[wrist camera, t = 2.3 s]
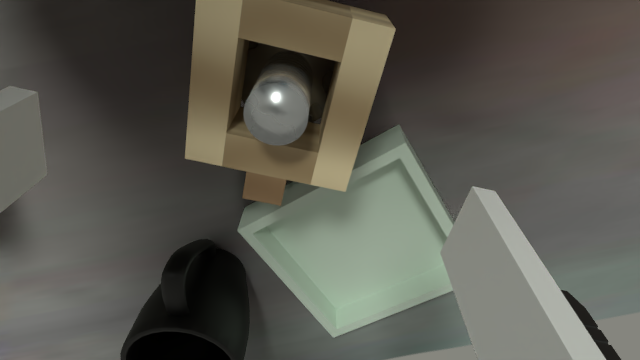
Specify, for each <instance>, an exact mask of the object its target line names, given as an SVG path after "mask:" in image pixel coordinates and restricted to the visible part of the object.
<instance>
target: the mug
mask: <svg viewBox="0 0 640 360" xmlns="http://www.w3.org/2000/svg"><path fill="white" fill-rule="evenodd" d="M248 335H249V299H248V291H247V284H246V273H245V269H244V266H243V264H242V263H241V262H240V260H239V259H238V258H237V257H235V256H234V255H233V254H231V253H229V252H227V251H225V250H222V249H218V248H216V245H215V243H214V242H213V241H211V240H207V239H201V240H197V241H194V242H192V243H189V244H187V245H185V246H183V247H181V248H180V249H178V250H177V251H176V252H174V253H173V255H172V256H171V257H170V259H169V260H168V262H167V264H166V266H165V268H164V270H163V273H162V278H161V284H160V285H159V286H158V287H157V289H156V290H155V291H154V293H153V294H152V295H151V296H150V298H149V299H148V301H147V302H146V303H145V305H144V306H143V308H142V309H141V311H140V313H139V315H138V317H137V319H136V321H135V323H134V325H133V327H132V329H131V330H130V332H129V334H128V336H127V338H126V340H125V342H124V344H123V347H122V350H121V360H244V356H245V351H246V346H247V340H248Z"/></svg>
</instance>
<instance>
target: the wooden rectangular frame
mask: <svg viewBox="0 0 640 360" xmlns="http://www.w3.org/2000/svg"><path fill="white" fill-rule="evenodd" d="M395 30H396V29H395V27H394V26H393V24H392V23H391V21H390V20H389V19H388V17H387V16H386V15H384V14H380V13H376V12H372V11H368V10H364V9H360V8H356V7H352V6H348V5H344V4H340V3H336V2H332V1H328V0H196V7H195V21H194V35H193V49H192V64H191V78H190V92H189V106H188V121H187V135H186V149H185V159H189V160H194V161H199V162H204V163H208V164H213V165H218V166H223V167H228V168H232V169H237V170H242V171H246V178H245V184H244V190H243V196H242V198H244V199H249V200H254V201H259V202H264V203H269V204H274V205H279V206H281V203H282V199H283V194H284V189H285V185H286V180H290V181H295V182H300V183H305V184H309V185H314V186H319V187H324V188H329V189H333V190H338V191H343V192H346V189H347V185H348V182H349V179H350V176H351V173H352V169H353V166H354V163H355V160H356V156H357V153H358V150H359V147H360V143H361V140H362V137H363V134H364V130H365V127H366V124H367V121H368V118H369V114H370V111H371V108H372V105H373V101H374V98H375V95H376V92H377V88H378V85H379V82H380V79H381V75H382V72H383V69H384V66H385V62H386V59H387V56H388V53H389V50H390V46H391V43H392V40H393V37H394V33H395ZM249 40H250V41H254V42H258V43H262V44H267V45H271V46H275V47H279V48H283V49H288V50H292V51H296V52H300V53H304V54H309V55H313V56H317V57H321V58H325V59H330V60H334V61H336V62H335V66H334V70H333V74H332V78H331V82H330V86H329V90H328V94H327V98H326V102H325V107H324V111H323V115H322V119H321V123H320V124H316V123H312V122H308V123H307V127H306V129H305V131H304V132H303V134H302V135H301V136H300V137H299V138H298V139H297V140H295V141H294V142H292V143H290V144H287V145H280V146H275V145H269V144H266V143H263V142H261V141H260V140H258V139H257V138H255V137H254V136H253V135H252V134H251V133H250V131H249V130H248V128H247V126H246V124H245V121H244V114H243V112H244V107H240V106H241V98H242V91H243V84H244V77H245V69H246V62H247V55H248V48H249Z"/></svg>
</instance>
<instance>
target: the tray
mask: <svg viewBox="0 0 640 360" xmlns="http://www.w3.org/2000/svg"><path fill="white" fill-rule="evenodd" d="M454 223H455V222H454V220H453V218H452V217H451V215H450V213H449V211H448V210H447V208H446V206H445V204H444V203H443V201H442V199H441V197H440V196H439V194H438V192H437V190H436V189H435V187H434V185H433V183H432V181H431V180H430V178H429V176H428V174H427V173H426V171H425V169H424V167H423V166H422V164H421V162H420V160H419V159H418V157H417V155H416V153H415V152H414V150H413V148H412V146H411V145H410V143H409V141H408V139H407V137H406V136H405V134H404V132H403V130H402V129H401V127H400V125H399V124H398V125H397V126H395V127H393V128H391V129H389V130H387V131H385V132H384V133H382V134H380V135H378V136H376V137H374V138H372V139H371V140H369V141H367V142H365V143H363V144H361V145H360V147H359V150H358V153H357V156H356V160H355V163H354V166H353V169H352V173H351V176H350V179H349V182H348V185H347V189H346V192H343V191H338V190H333V189H329V188H324V187H319V186H314V185H309V184H305V183H300V182H295V181H293V182H291V183H289V184H287V185H285V189H284V194H283V199H282V203H281V206H279V205H274V204H269V203H264V202H259V201H256V202H254V203H252V204H250V205H248V206H246V207H245V208H244V211H243V214H242V217H241V220H240V223H239V227H238V230H237V231H238V232H239V233H240V234H241V235H242V237H243V238H244V239H245V240H246V241H247V242H248V243H249V244H250V245H251V247H252V248H253V249H254V250H255V251H256V252H257V253H258V254H259V255H260V257H261V258H262V259H263V260H264V261H265V262H266V263H267V264H268V265H269V267H270V268H271V269H272V270H273V271H274V272H275V273H276V274H277V276H278V277H279V278H280V279H281V280H282V281H283V282H284V283H285V284H286V286H287V287H288V288H289V289H290V290H291V291H292V292H293V293H294V294H295V296H296V297H297V298H298V299H299V300H300V301H301V302H302V303H303V305H304V306H305V307H306V308H307V309H308V310H309V311H310V312H311V313H312V315H313V316H314V317H315V318H316V319H317V320H318V321H319V322H320V323H321V325H322V326H323V327H324V328H325V329H326V330H327V331H328V332H329V334H330V335H331V336H332V337H333V338H334V337H337V336H339V335H342V334H344V333H347V332H349V331H352V330H354V329H357V328H359V327H362V326H364V325H367V324H369V323H372V322H375V321H377V320H380V319H382V318H385V317H387V316H390V315H392V314H395V313H397V312H400V311H402V310H405V309H407V308H410V307H412V306H415V305H418V304H420V303H423V302H425V301H428V300H430V299H433V298H435V297H438V296H440V295H443V294H445V293H448V292H450V291H453V288H452V285H451V282H450V280H449V277H448V274H447V271H446V268H445V265H444V262H443V260H442V257H441V254H440V252H441V250H442V248H443V245H444V243H445V241H446V239H447V237H448V235H449V233H450V231H451V229H452V227H453V225H454Z"/></svg>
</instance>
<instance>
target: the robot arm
mask: <svg viewBox="0 0 640 360" xmlns="http://www.w3.org/2000/svg"><path fill="white" fill-rule="evenodd" d="M46 175H47V165H46V157H45V148H44V140H43V131H42V123H41V114H40V106H39V97H38V92H35V91H31V90H26V89H22V88H17V87H12V86H8V87H6V88H4V89H2V90H0V213H1V212H2V211H4V210H5V209H6V208H7V207H8V206H10V205H11V204H12V203H13V202H15V201H16V200H17V199H18V198H19V197H21V196H22V195H23V194H24V193H26V192H27V191H28V190H29V189H30V188H32V187H33V186H34V185H35V184H36V183H38V182H39V181H40V180H41V179H43V178H44V177H45V176H46ZM440 254H441V257H442V260H443V262H444V265H445V268H446V271H447V274H448V277H449V280H450V282H451V285H452V288H453V291H454V294H455V297H456V299H457V302H458V305H459V308H460V311H461V314H462V317H463V319H464V322H465V325H466V328H467V331H468V334H469V336H470V339H471V342H472V345H473V348H474V351H475V354H476V356H477V359H478V360H621V359H620V357H619V356H618V355H617V353H616V352H615V350H614V349H613V347H612V346H611V345H608V340H607V339H606V337H605V336H604V334H603V333H602V331H601V330H599V329H598V328H597V327H598V326H597V324H596V323H595V321H594V320H593V318H592V317H591V316H590V314H589V313H588V311H587V310H586V308H585V307H584V306H583V305H581V304H580V303H579V302H578V301H577V300H576V299H575V298H574V297H573V296H572V295H571V294H570V293H569V292H567V291H563V290H560V289H559V287H558V286H557V284H556V283H555V281H554V280H553V278H552V277H551V275H550V274H549V272H548V271H547V269H546V268H545V266H544V264H543V263H542V261H541V260H540V258H539V257H538V255H537V254H536V252H535V251H534V249H533V248H532V246H531V245H530V243H529V242H528V240H527V239H526V237H525V236H524V234H523V233H522V231H521V230H520V228H519V227H518V225H517V224H516V222H515V221H514V219H513V217H512V216H511V214H510V213H509V211H508V210H507V208H506V207H505V205H504V204H503V202H502V201H501V199H500V198H499V196H498V195H497V193H496V192H495V191H492V190H488V189H483V188H478V187H474V186H472V188H471V190H470V192H469V194H468V196H467V198H466V200H465V202H464V204H463V206H462V208H461V210H460V213H459V215H458V217H457V219H456V221H455V223H454V225H453V227H452V229H451V231H450V233H449V235H448V237H447V239H446V241H445V243H444V245H443V248H442V250H441V252H440Z"/></svg>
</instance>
